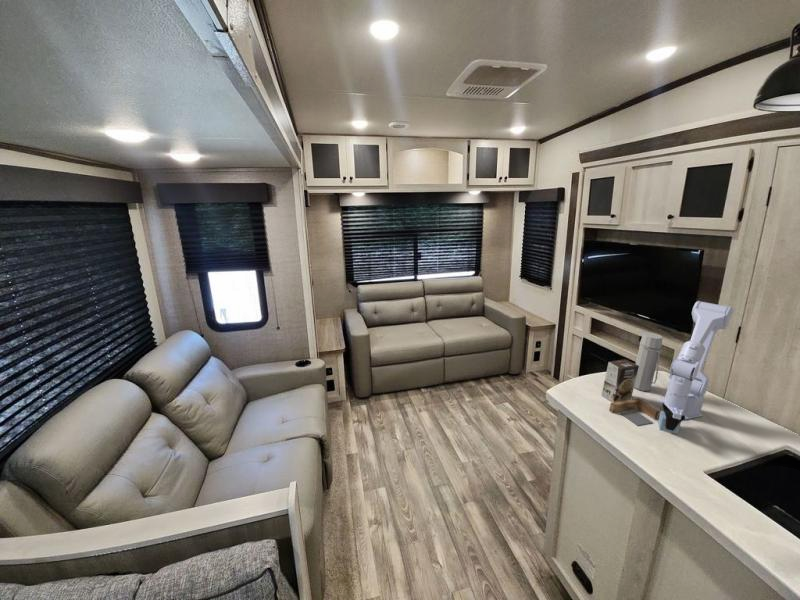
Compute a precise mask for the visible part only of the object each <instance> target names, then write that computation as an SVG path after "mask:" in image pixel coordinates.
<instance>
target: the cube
mask: <svg viewBox="0 0 800 600" xmlns="http://www.w3.org/2000/svg"><path fill="white" fill-rule="evenodd" d="M657 420H658V421H657V423H658V427H659V430H660V431H663V432H667V433H670V434H673V435H678V433H679V431H680V428H681V424H682V422H680V423H679V424H678V425H677V427H676V428H675V429H674V431H672V430H668V429H666V415H665V413H664V411H663V410H660V412H659V415H658V419H657Z"/></svg>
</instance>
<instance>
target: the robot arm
mask: <svg viewBox="0 0 800 600" xmlns="http://www.w3.org/2000/svg"><path fill="white" fill-rule="evenodd" d="M691 310H692V311H691V316H692V321H693V323H695V325H694V328H693V332H692V335H691V338H690V340H689V341H686V342H684V343H683V344H682V347H681V349H680V352H679V354H678V356H677V357H676V359H673V361H672V362H671V365H670V368H669V377H668V378H669V381H668V385H667V389H666V393H665V395H664V398H659V401H660V403H661V404H662V408H663V410H662V411H664V413H665V415H666V429H668V430H672V431H674V429H675V428H676V427H677V425H678V424H679V423H680V422H681V423H682V422H683V421H685V420H688V419H689V420H690V419H695V418H699V417H702V416H703V414H701V411H702V409H703V405H704V400H705V399H704V398H705V397H704V396H705V395H706V392H707V390H708V387H709V382H710V378H709V376H708V375H707V373H705V372H704V370H703V368H704V365H705V363H706V361H707V357H708V355H709V353H710V352H709V351H710V349H711V347H712V344H713V342H714V338H715V335H717V333H718V331H720V330H725V329H727V327H728V326H729V324H730V321H731V319H732V315H733V313H734V308H733V306H728V305H721V304H715V303H710V302H706V301H701V300H697V301H696V302H695V303H694V305H693V307H692V309H691Z"/></svg>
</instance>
